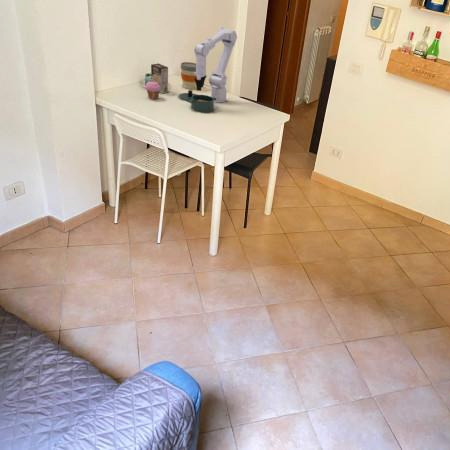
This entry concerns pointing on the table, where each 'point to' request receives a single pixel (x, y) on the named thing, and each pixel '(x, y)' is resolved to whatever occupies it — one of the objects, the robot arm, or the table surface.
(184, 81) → the reusable coffee cup
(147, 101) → the table surface
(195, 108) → the pot
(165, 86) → the coffee box
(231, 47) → the robot arm
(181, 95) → the pot lid
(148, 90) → the cupcake
